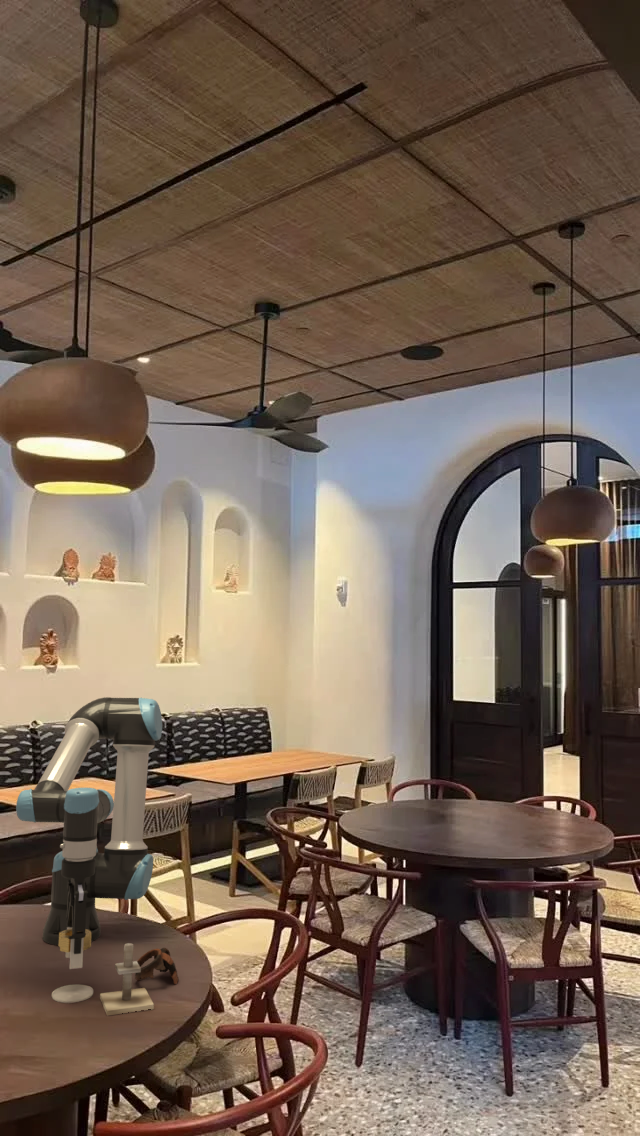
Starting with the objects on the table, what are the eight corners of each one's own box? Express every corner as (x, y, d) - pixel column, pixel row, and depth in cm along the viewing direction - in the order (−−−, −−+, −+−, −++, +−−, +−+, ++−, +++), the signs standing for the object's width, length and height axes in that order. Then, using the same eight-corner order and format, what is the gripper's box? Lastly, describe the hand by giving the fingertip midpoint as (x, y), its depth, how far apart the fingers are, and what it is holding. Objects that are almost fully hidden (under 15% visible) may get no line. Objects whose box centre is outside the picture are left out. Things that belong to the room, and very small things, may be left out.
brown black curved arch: (177, 991, 198) (160, 962, 197) (141, 1007, 199) (124, 978, 198) (187, 960, 210) (171, 932, 209) (153, 975, 211) (137, 947, 210)
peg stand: (99, 998, 192) (102, 940, 193) (144, 992, 196) (146, 935, 197) (106, 1015, 183) (109, 954, 184) (153, 1009, 186) (155, 949, 188)
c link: (87, 940, 199) (88, 927, 199) (92, 950, 192) (92, 936, 193) (57, 943, 196) (58, 930, 197) (60, 953, 190) (61, 939, 190)
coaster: (49, 990, 196) (50, 987, 196) (90, 985, 199) (90, 982, 199) (53, 1005, 188) (53, 1002, 188) (95, 999, 191) (95, 996, 191)
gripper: (57, 849, 204) (52, 950, 202) (66, 868, 186) (61, 979, 183) (89, 847, 207) (84, 946, 204) (102, 866, 189) (97, 975, 186)
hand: (73, 962), depth 194 cm, fingers closed on c link, 7 cm apart
